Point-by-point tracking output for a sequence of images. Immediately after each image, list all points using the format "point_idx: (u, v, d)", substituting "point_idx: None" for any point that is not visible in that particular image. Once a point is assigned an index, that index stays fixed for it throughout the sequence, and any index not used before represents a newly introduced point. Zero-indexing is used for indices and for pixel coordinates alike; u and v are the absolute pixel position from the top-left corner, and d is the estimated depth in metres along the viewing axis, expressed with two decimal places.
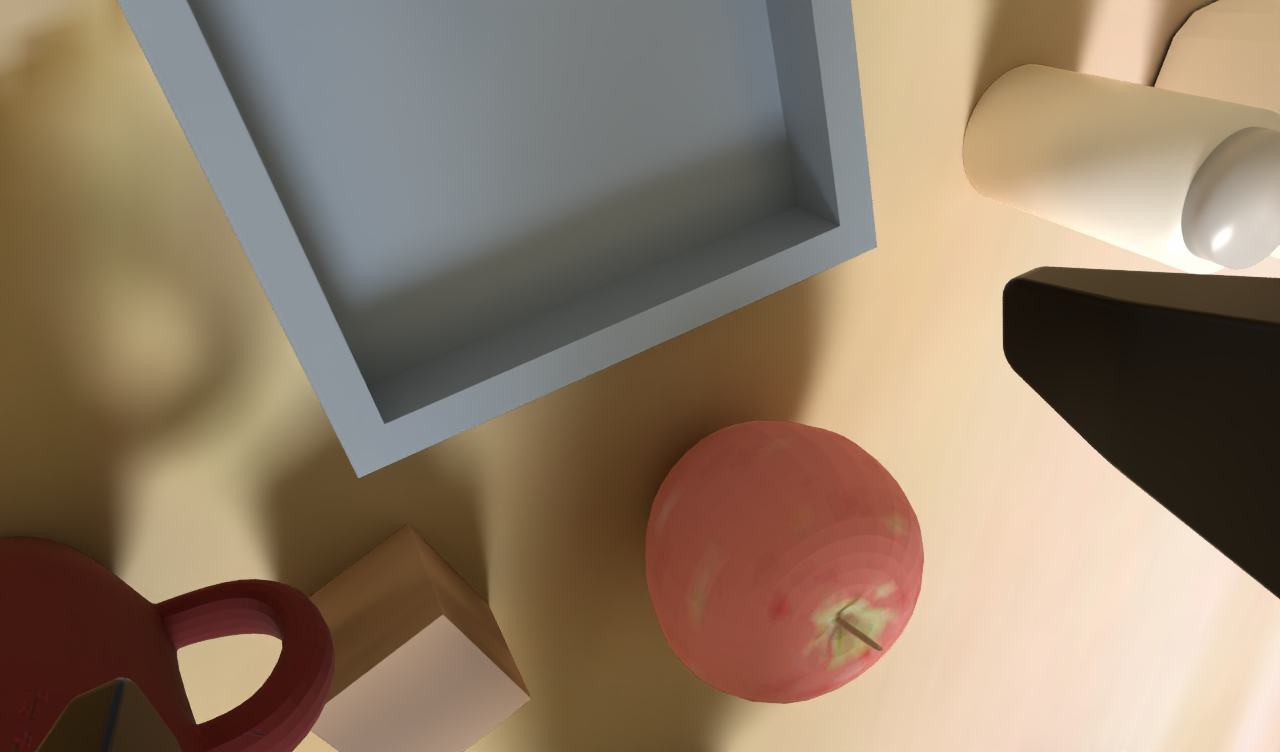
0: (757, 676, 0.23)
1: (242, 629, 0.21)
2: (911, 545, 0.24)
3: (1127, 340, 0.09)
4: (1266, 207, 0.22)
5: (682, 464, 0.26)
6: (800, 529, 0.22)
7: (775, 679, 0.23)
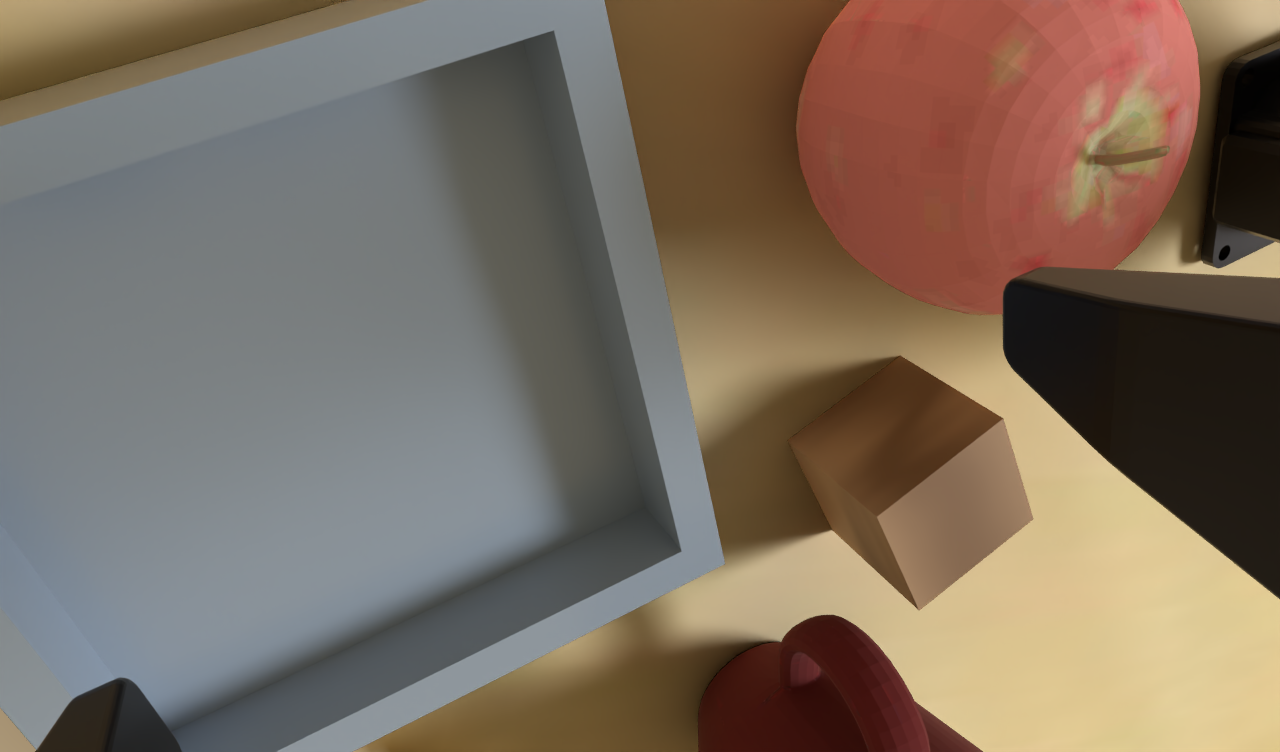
0: (1107, 269, 0.18)
1: None
2: (1052, 33, 0.15)
3: (1127, 340, 0.09)
4: None
5: None
6: (948, 223, 0.17)
7: (1123, 251, 0.18)
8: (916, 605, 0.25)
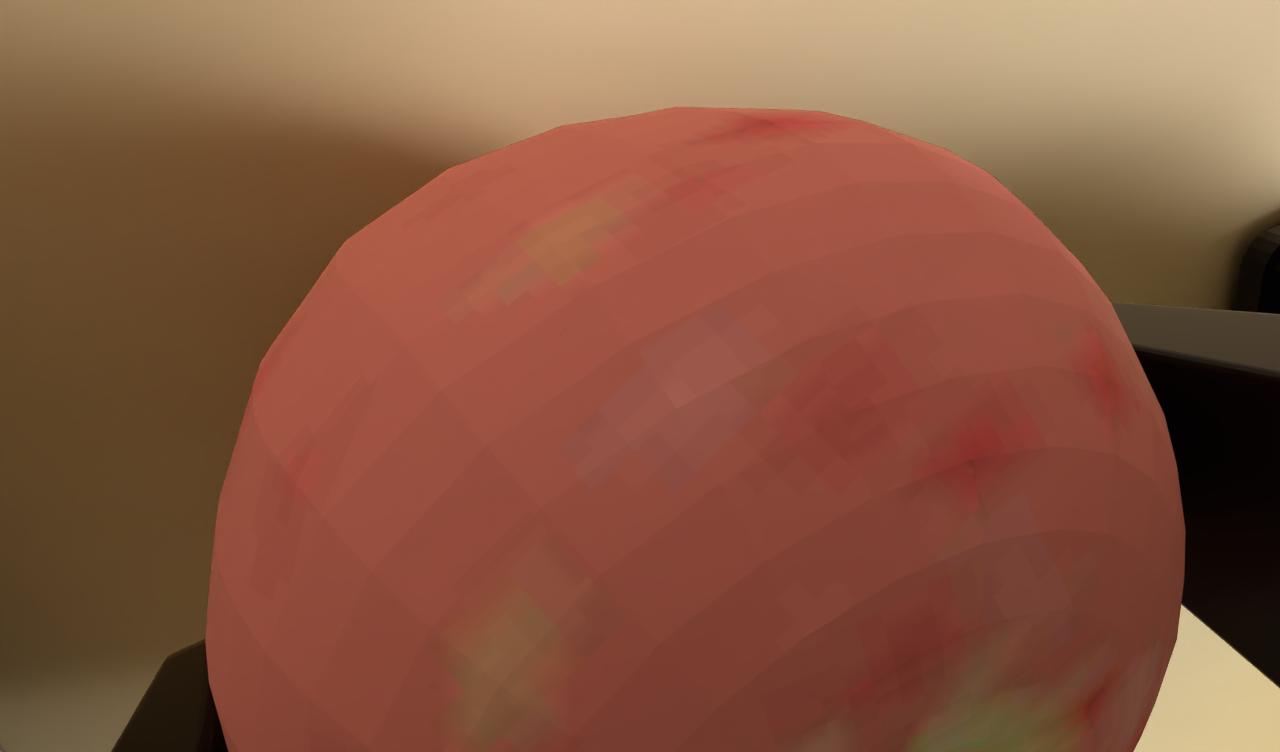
0: None
1: None
2: (650, 583, 0.04)
3: None
4: None
5: None
6: None
7: None
8: None
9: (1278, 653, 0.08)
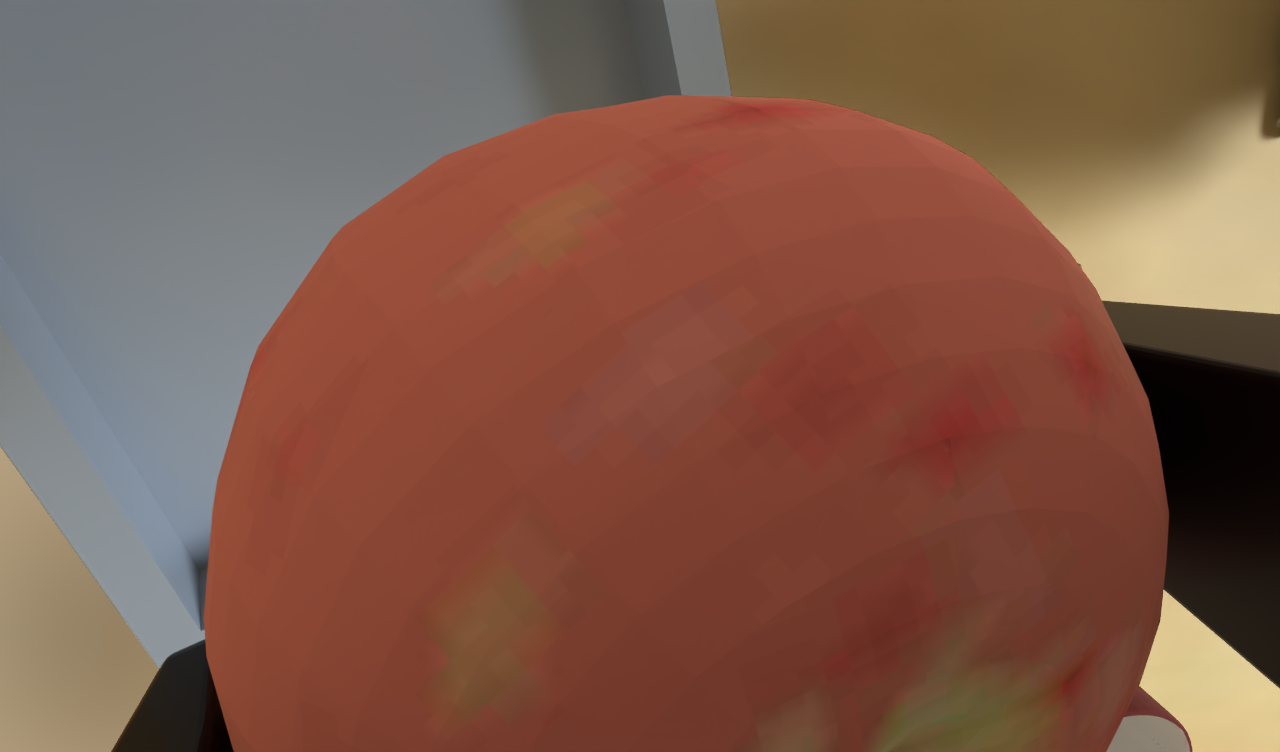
0: None
1: None
2: (631, 557, 0.05)
3: None
4: None
5: None
6: None
7: None
8: None
9: (1278, 653, 0.08)
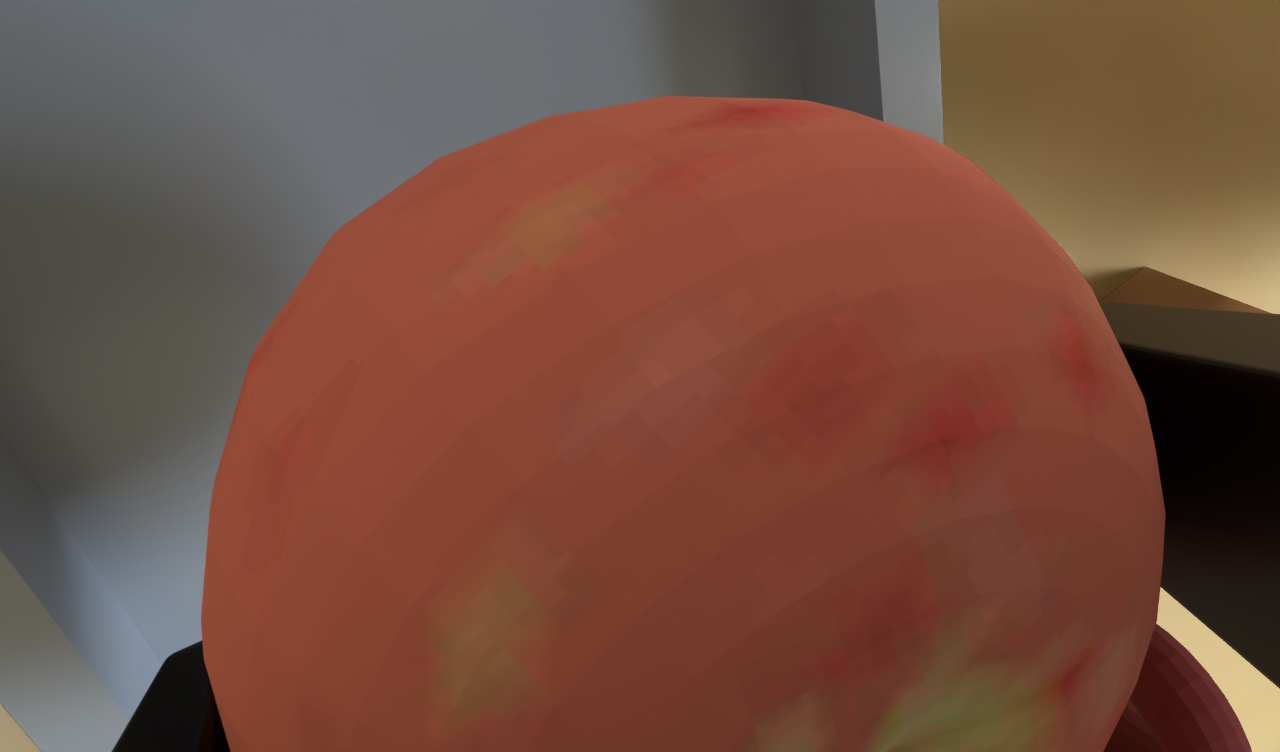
0: None
1: None
2: (629, 560, 0.05)
3: None
4: None
5: None
6: None
7: None
8: None
9: (1277, 653, 0.08)
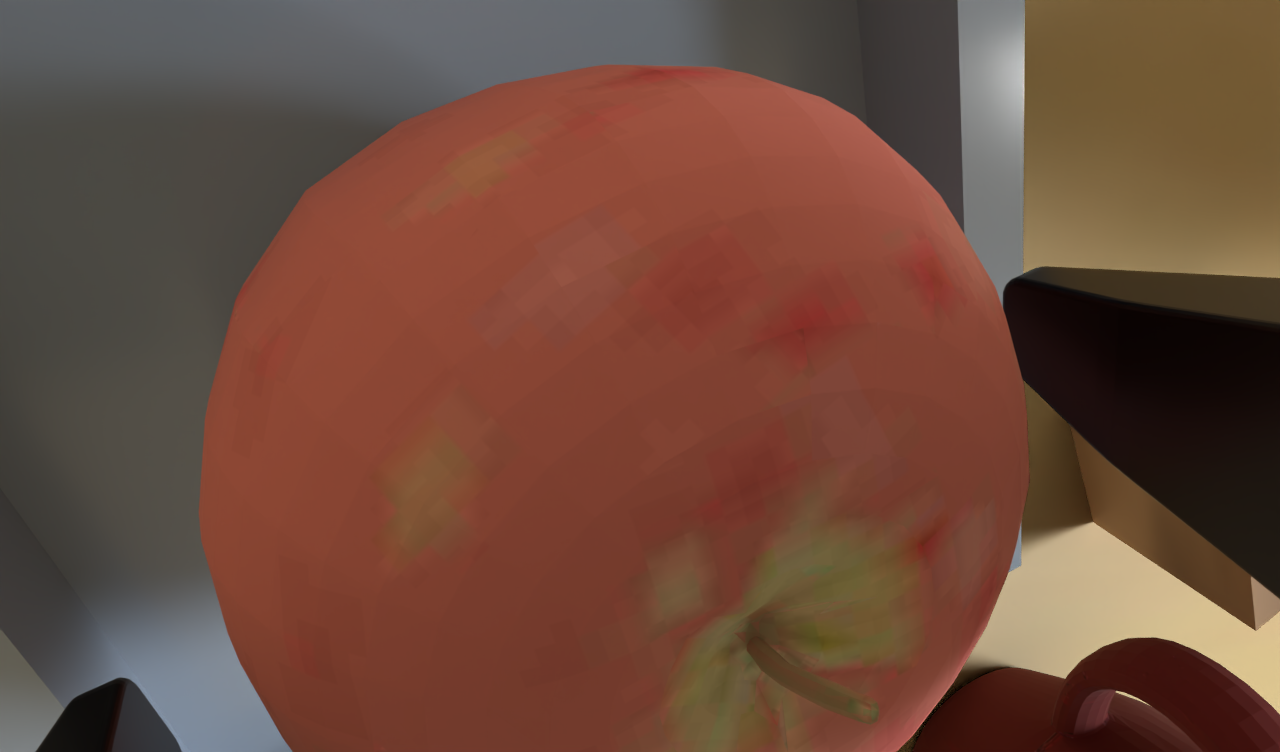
0: None
1: None
2: (541, 422, 0.06)
3: (1126, 340, 0.09)
4: None
5: None
6: None
7: None
8: (1253, 624, 0.18)
9: None
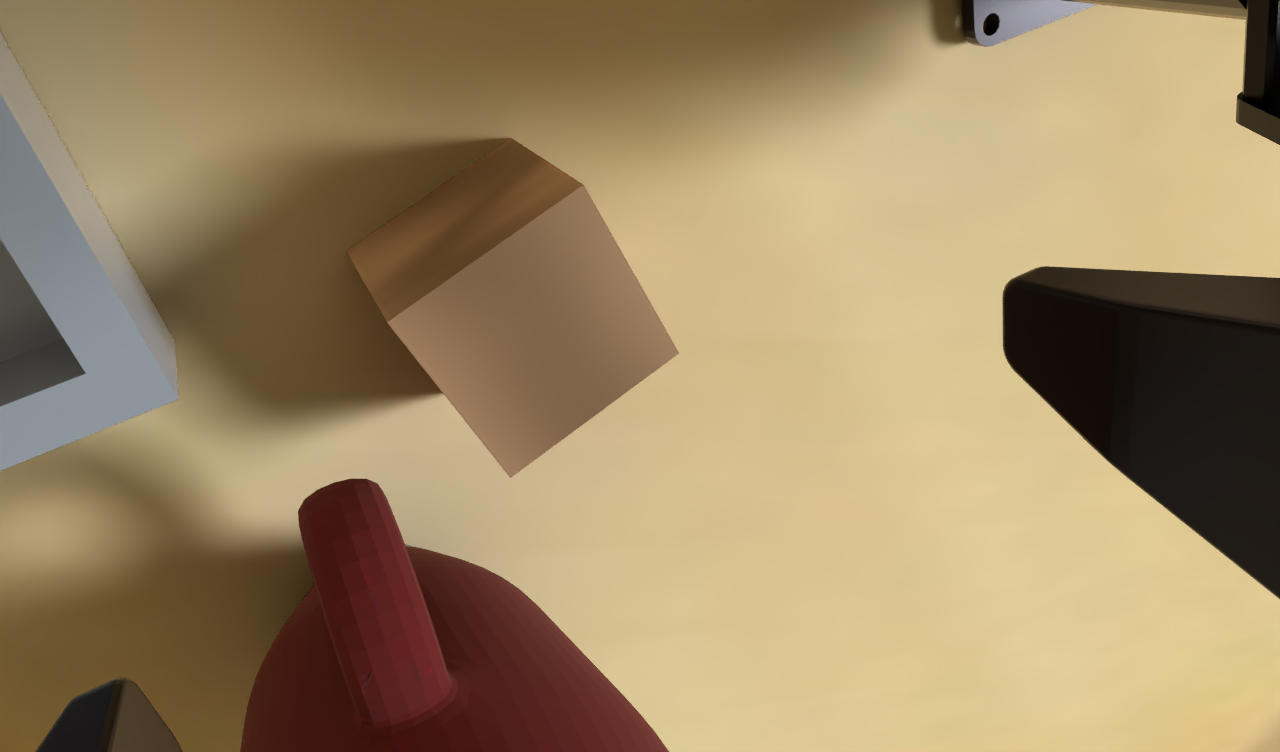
0: None
1: None
2: None
3: (1127, 340, 0.09)
4: None
5: None
6: None
7: None
8: None
9: None
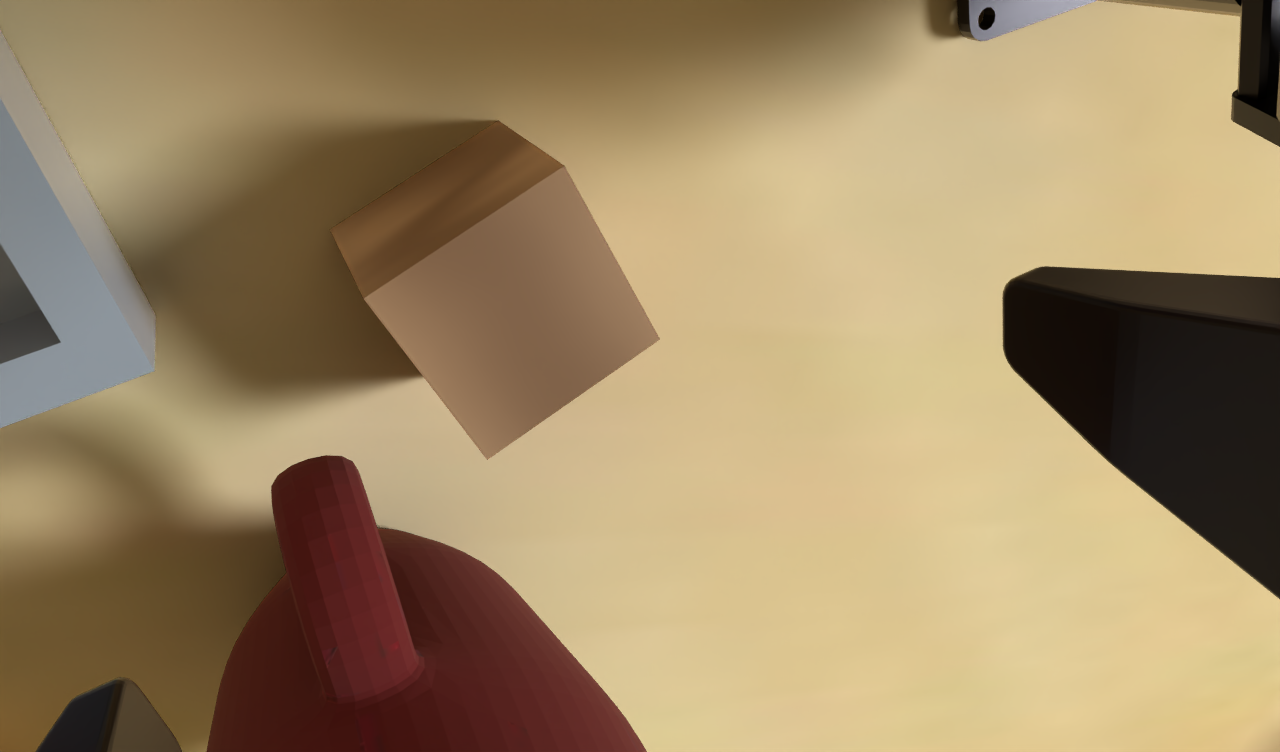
0: None
1: None
2: None
3: (1127, 340, 0.09)
4: None
5: None
6: None
7: None
8: (481, 451, 0.18)
9: None
